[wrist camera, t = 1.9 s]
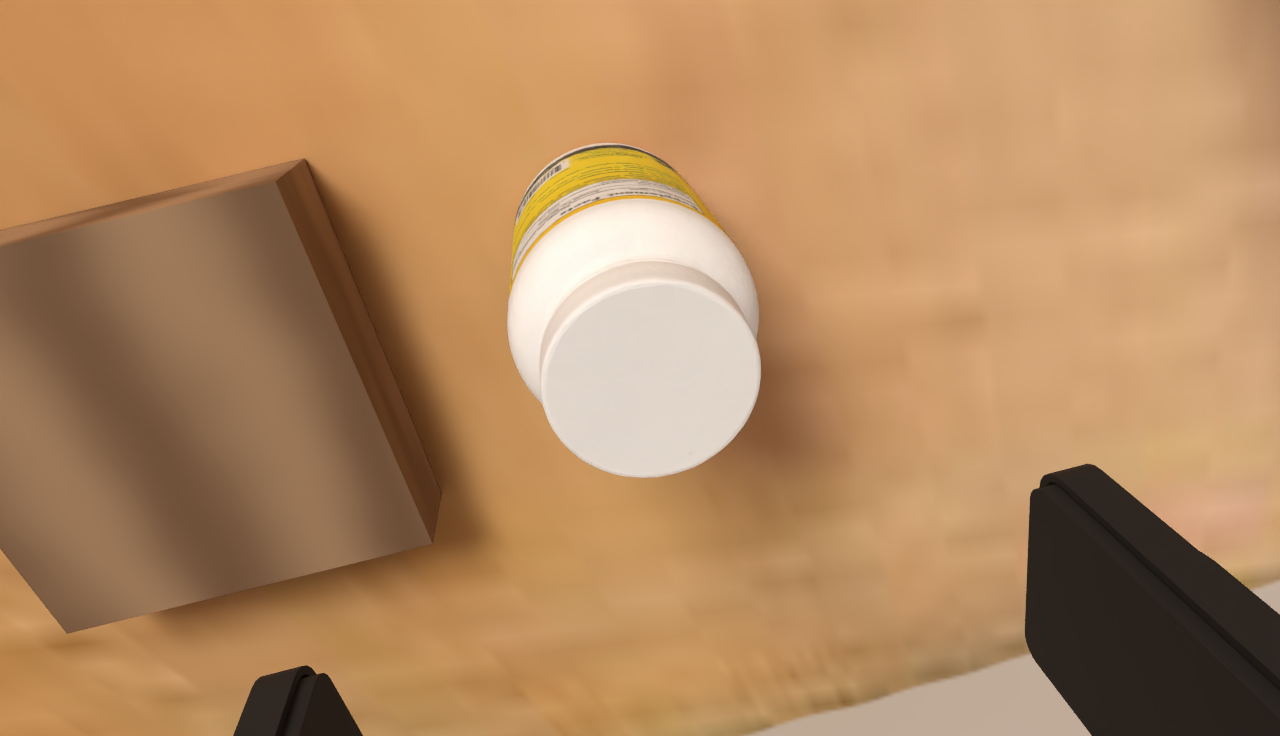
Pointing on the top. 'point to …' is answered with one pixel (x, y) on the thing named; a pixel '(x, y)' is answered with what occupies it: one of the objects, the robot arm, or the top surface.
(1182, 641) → the robot arm
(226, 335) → the walnut base
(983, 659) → the top surface
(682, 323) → the pill bottle
